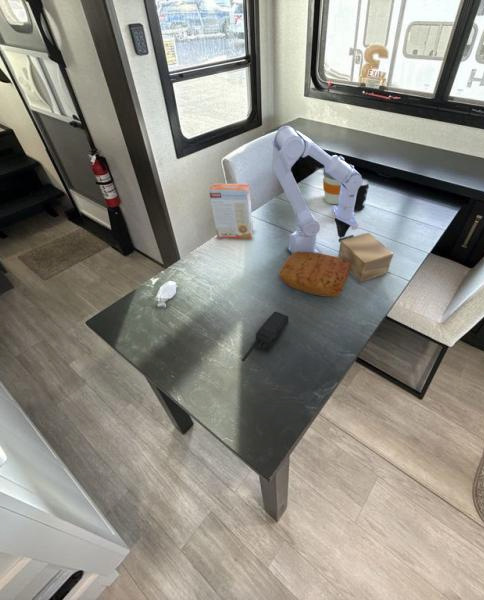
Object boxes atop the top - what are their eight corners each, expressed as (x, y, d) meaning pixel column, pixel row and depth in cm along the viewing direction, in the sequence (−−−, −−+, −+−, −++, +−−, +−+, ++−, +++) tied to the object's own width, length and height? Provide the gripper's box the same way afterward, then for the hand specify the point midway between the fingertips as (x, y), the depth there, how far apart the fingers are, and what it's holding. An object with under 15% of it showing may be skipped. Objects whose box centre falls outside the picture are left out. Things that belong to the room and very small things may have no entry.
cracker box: (253, 231, 130) (249, 182, 115) (251, 239, 126) (247, 190, 111) (220, 230, 131) (212, 182, 116) (217, 238, 127) (208, 189, 112)
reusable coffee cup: (316, 195, 150) (319, 163, 139) (340, 190, 152) (344, 159, 141) (327, 208, 141) (331, 175, 131) (352, 203, 144) (358, 170, 133)
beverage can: (360, 212, 138) (365, 186, 129) (346, 208, 141) (350, 182, 132) (366, 206, 141) (372, 180, 133) (353, 202, 144) (358, 177, 136)
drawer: (332, 249, 118) (334, 234, 114) (355, 242, 121) (358, 227, 116) (357, 276, 108) (361, 260, 103) (382, 267, 111) (387, 252, 106)
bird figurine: (175, 309, 102) (180, 283, 107) (164, 299, 96) (170, 272, 101) (161, 310, 103) (167, 285, 108) (149, 300, 97) (156, 274, 102)
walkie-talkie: (294, 321, 93) (261, 370, 79) (281, 326, 97) (247, 373, 84) (282, 305, 91) (246, 352, 78) (269, 311, 96) (232, 357, 82)
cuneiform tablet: (352, 276, 109) (356, 258, 103) (336, 309, 99) (339, 291, 93) (294, 259, 116) (295, 242, 110) (273, 288, 106) (273, 270, 100)
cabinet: (338, 260, 116) (341, 240, 109) (364, 251, 119) (368, 232, 112) (359, 282, 107) (364, 263, 101) (387, 272, 110) (393, 253, 104)
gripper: (368, 210, 106) (361, 243, 116) (344, 192, 115) (340, 224, 125) (350, 215, 104) (344, 248, 114) (328, 196, 113) (324, 228, 123)
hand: (341, 236), depth 119 cm, fingers closed
